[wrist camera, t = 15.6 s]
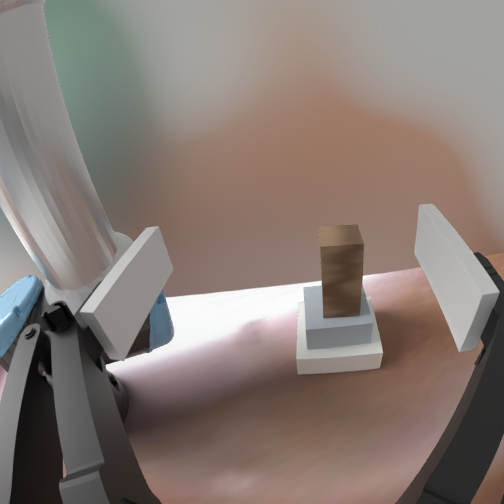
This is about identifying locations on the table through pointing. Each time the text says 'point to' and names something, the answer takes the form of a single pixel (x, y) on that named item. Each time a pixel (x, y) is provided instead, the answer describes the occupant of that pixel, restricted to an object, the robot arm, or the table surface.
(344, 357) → the tower base
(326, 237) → the walnut block
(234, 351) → the table surface
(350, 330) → the tower top
